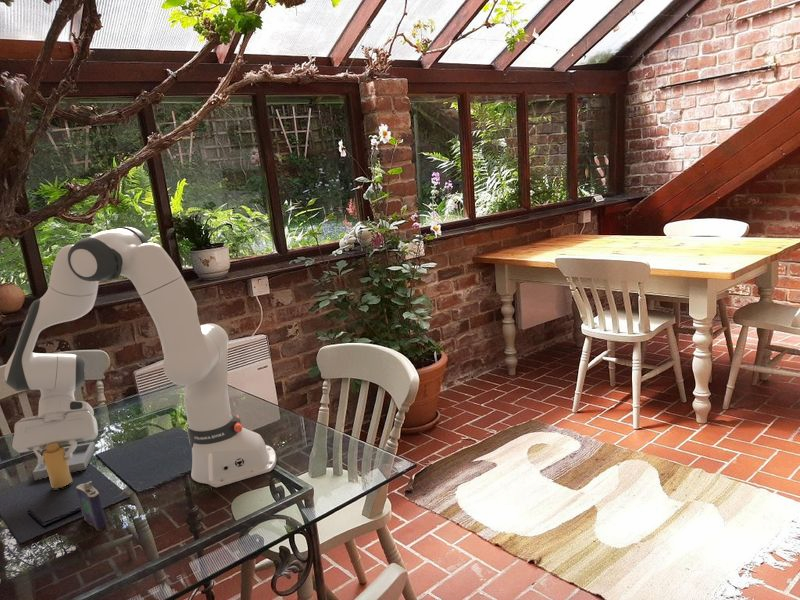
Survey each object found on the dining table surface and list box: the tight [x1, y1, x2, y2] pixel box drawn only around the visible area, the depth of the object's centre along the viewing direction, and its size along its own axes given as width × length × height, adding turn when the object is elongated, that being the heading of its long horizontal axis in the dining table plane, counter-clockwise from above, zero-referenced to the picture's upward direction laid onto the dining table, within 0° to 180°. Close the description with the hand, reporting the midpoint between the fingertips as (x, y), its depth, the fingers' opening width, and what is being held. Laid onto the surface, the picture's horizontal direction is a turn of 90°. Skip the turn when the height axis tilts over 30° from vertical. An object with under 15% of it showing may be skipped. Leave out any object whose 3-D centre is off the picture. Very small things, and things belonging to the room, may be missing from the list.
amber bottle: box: [42, 442, 73, 489], centre depth 160 cm, size 5×5×12 cm
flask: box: [75, 480, 108, 531], centre depth 143 cm, size 9×3×11 cm, turn 50°
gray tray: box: [32, 441, 97, 481], centre depth 173 cm, size 13×13×2 cm
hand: (55, 461), depth 159 cm, fingers closed on amber bottle, 5 cm apart
